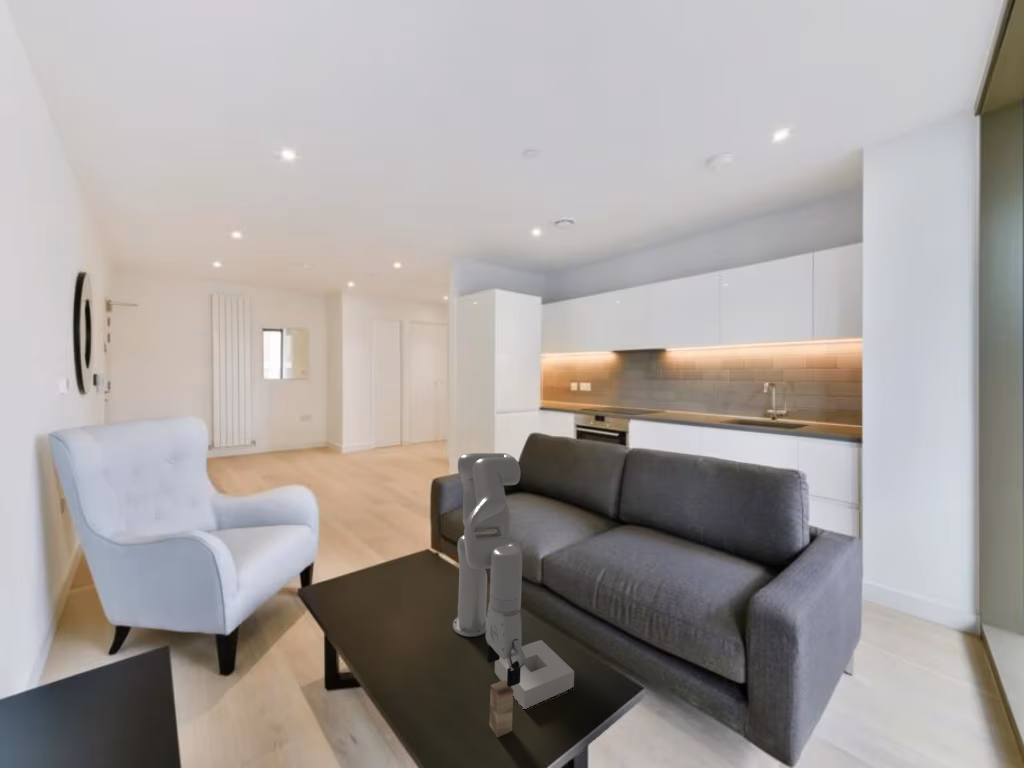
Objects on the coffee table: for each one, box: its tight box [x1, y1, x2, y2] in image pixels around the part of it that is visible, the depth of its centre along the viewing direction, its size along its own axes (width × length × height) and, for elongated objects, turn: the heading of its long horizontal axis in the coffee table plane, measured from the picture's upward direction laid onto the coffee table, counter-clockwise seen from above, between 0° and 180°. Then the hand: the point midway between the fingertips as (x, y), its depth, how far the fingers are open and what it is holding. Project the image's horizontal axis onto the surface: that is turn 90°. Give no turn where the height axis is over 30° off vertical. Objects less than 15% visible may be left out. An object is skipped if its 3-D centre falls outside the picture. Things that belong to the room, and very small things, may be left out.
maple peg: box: [488, 680, 514, 738], centre depth 104 cm, size 4×4×10 cm
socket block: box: [494, 639, 575, 710], centre depth 121 cm, size 16×16×5 cm
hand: (503, 672), depth 104 cm, fingers open, 9 cm apart
